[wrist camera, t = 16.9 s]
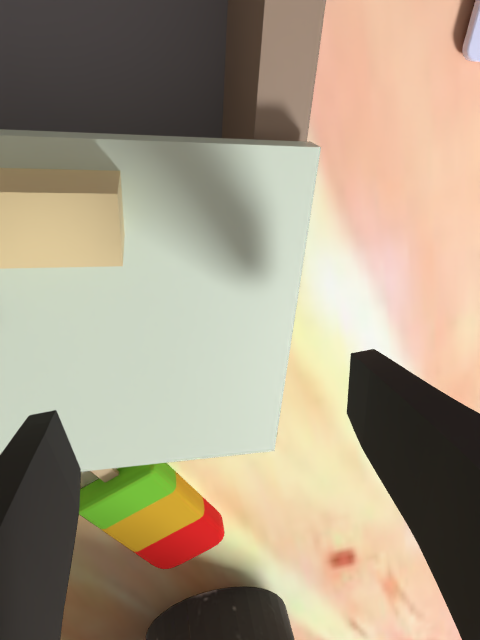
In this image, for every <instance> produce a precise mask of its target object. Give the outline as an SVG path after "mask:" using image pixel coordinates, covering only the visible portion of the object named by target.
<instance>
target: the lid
mask: <svg viewBox="0 0 480 640" xmlns="http://www.w3.org/2000/svg"><path fill="white" fill-rule="evenodd" d="M320 149H321V147H319V146H317V145H315V144H314V143H312V142H304V141H279V140H254V139H229V138H204V137H180V136H155V135H130V134H105V133H80V132H55V131H31V130H6V129H0V454H1V453H2V452H3V450H4V449H5V448H6V446H7V445H8V443H9V442H10V441H11V439H12V438H13V436H14V435H15V434H16V432H17V431H18V429H19V428H20V427H21V425H22V424H23V423H24V421H25V420H26V419H27V417H28V416H29V415H33V414H38V413H43V412H49V411H54V410H56V411H57V413H58V415H59V418H60V420H61V423H62V425H63V427H64V430H65V432H66V435H67V437H68V439H69V442H70V444H71V447H72V449H73V452H74V454H75V456H76V459H77V461H78V464H79V466H80V468H81V472H84V471H93V470H102V469H111V468H121V467H130V466H139V465H148V464H158V463H167V462H176V461H185V460H195V459H204V458H213V457H222V456H232V455H241V454H250V453H259V452H269V451H274V449H275V443H276V436H277V430H278V423H279V417H280V410H281V404H282V397H283V391H284V384H285V378H286V371H287V365H288V358H289V352H290V345H291V339H292V332H293V325H294V319H295V312H296V306H297V299H298V293H299V286H300V280H301V273H302V267H303V260H304V254H305V247H306V241H307V234H308V228H309V221H310V215H311V208H312V202H313V195H314V188H315V182H316V175H317V169H318V162H319V156H320Z"/></svg>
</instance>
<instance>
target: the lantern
mask: <svg viewBox="0 0 480 640" xmlns="http://www.w3.org/2000/svg"><path fill="white" fill-rule="evenodd" d="M146 640H294V636H293V633H292V629H291V625H290V621H289V618H288V614H287V610H286V606H285V604H284V602H283V600H282V599H281V598H280V597H279V596H277V595H276V594H274V593H272V592H270V591H268V590H264V589H260V588H253V587H230V588H224V589H217V590H213V591H209V592H205V593H201V594H198V595H196V596H193V597H190V598H188V599H185V600H183V601H181V602H179V603H177V604H175V605H174V606H172V607H171V608H169V609H168V610H166V611H165V612H163V613H162V614H161V615H160V616H159V617H158V618H156V619H155V620H154V622H153V623H152V624H151V626H150V627H149V629H148V631H147V634H146Z"/></svg>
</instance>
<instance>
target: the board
mask: <svg viewBox="0 0 480 640" xmlns="http://www.w3.org/2000/svg"><path fill="white" fill-rule="evenodd" d="M325 4H326V0H0V129H6V130H31V131H55V132H80V133H105V134H130V135H155V136H180V137H204V138H229V139H254V140H279V141H304V142H307V135H308V128H309V121H310V113H311V106H312V99H313V92H314V84H315V77H316V70H317V62H318V55H319V48H320V40H321V33H322V26H323V18H324V11H325Z"/></svg>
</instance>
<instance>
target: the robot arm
mask: <svg viewBox="0 0 480 640" xmlns="http://www.w3.org/2000/svg"><path fill="white" fill-rule="evenodd" d="M462 52H463V56H464V58H465V59H466V60H469V61H476V62H480V0H475V4H474V7H473V11H472V15H471V18H470V22H469V25H468V29H467V33H466V36H465V40H464V43H463V49H462ZM347 414H348V417H349V419H350V422H351V424H352V426H353V429H354V431H355V433H356V436H357V438H358V440H359V442H360V445H361V447H362V449H363V451H364V452H365V454H366V456H367V458H368V459H369V461H370V463H371V464H372V466H373V468H374V469H375V471H376V473H377V475H378V476H379V478H380V480H381V481H382V483H383V485H384V486H385V488H386V490H387V491H388V493H389V495H390V496H391V498H392V500H393V501H394V503H395V505H396V506H397V508H398V510H399V511H400V513H401V515H402V516H403V518H404V520H405V521H406V523H407V525H408V526H409V528H410V530H411V532H412V534H413V535H414V537H415V539H416V541H417V543H418V545H419V547H420V549H421V551H422V553H423V555H424V557H425V559H426V561H427V564H428V566H429V568H430V570H431V572H432V574H433V576H434V578H435V580H436V582H437V585H438V587H439V589H440V591H441V593H442V596H443V598H444V600H445V602H446V604H447V607H448V609H449V611H450V613H451V615H452V618H453V620H454V622H455V624H456V627H457V629H458V631H459V633H460V636H461V638H462V640H480V414H479V413H478V412H476V411H474V410H472V409H470V408H468V407H467V406H465V405H463V404H461V403H460V402H458V401H456V400H455V399H453V398H451V397H449V396H448V395H446V394H444V393H443V392H441V391H440V390H438V389H436V388H435V387H433V386H431V385H430V384H428V383H427V382H425V381H423V380H422V379H420V378H419V377H417V376H416V375H414V374H412V373H411V372H409V371H408V370H406V369H405V368H403V367H402V366H400V365H398V364H397V363H395V362H394V361H392V360H391V359H389V358H388V357H386V356H384V355H383V354H381V353H380V352H378V351H376V350H374V349H372V350H367V351H361V352H356V353H351V360H350V375H349V389H348V404H347ZM80 475H81V468H80V466H79V464H78V461H77V459H76V456H75V454H74V452H73V449H72V447H71V444H70V442H69V439H68V437H67V435H66V432H65V430H64V427H63V425H62V423H61V420H60V418H59V415H58V413H57V411H56V410H54V411H49V412H43V413H38V414H33V415H29V416H28V417H27V419H26V420H25V421H24V423H23V424H22V425H21V427H20V428H19V429H18V431H17V432H16V434H15V435H14V436H13V438H12V439H11V441H10V442H9V443H8V445H7V446H6V448H5V449H4V450H3V452H2V453H1V454H0V640H60V637H61V628H62V619H63V611H64V605H65V599H66V593H67V586H68V580H69V574H70V568H71V561H72V555H73V549H74V543H75V536H76V530H77V523H78V516H79V507H80Z"/></svg>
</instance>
